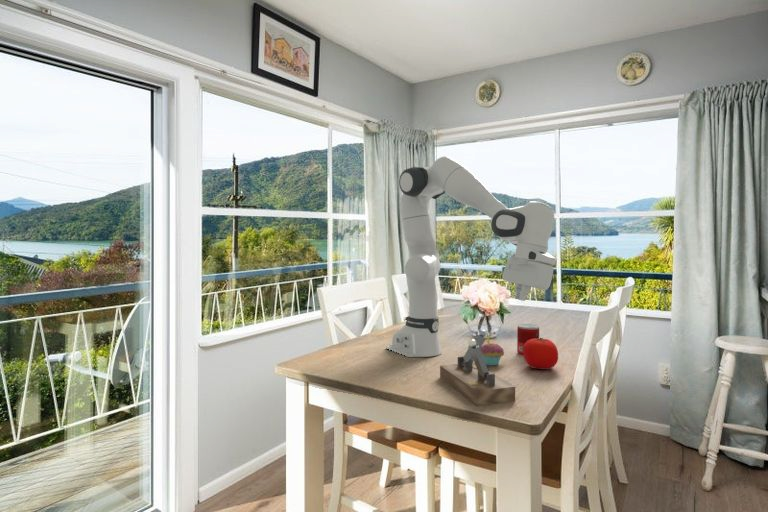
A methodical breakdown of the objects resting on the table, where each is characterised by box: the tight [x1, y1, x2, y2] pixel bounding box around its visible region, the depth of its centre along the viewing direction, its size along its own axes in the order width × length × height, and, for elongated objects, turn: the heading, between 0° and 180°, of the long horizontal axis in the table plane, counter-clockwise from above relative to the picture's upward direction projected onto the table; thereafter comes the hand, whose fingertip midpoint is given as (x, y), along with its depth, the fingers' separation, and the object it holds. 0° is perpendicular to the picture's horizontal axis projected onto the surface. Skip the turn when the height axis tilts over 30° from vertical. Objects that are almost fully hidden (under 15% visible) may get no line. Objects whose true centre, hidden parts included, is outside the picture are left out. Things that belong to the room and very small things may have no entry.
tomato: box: [522, 337, 559, 370], centre depth 152 cm, size 11×12×10 cm
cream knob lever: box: [468, 338, 490, 380], centre depth 125 cm, size 2×4×12 cm, turn 16°
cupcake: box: [480, 330, 505, 366], centre depth 157 cm, size 9×8×12 cm
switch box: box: [439, 355, 516, 407], centre depth 132 cm, size 12×24×7 cm, turn 17°
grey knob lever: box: [461, 329, 487, 363], centre depth 139 cm, size 2×4×12 cm
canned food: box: [516, 323, 540, 357], centre depth 170 cm, size 8×8×11 cm
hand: (519, 299), depth 133 cm, fingers closed
